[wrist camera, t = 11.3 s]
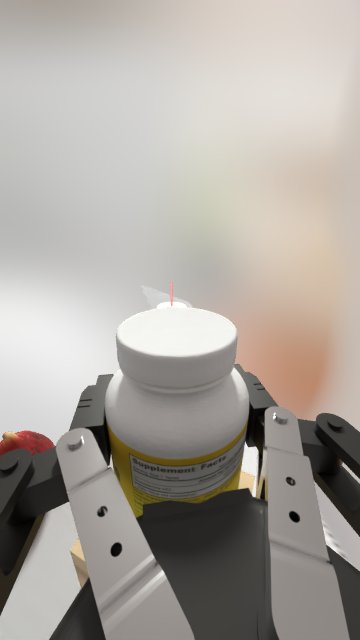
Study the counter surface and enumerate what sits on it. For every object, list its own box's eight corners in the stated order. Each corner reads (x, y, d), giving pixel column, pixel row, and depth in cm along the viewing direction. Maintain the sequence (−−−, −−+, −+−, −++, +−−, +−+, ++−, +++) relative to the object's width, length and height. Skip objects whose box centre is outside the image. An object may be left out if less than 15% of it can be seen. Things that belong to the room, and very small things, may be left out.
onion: (59, 455, 28) (44, 401, 25) (67, 500, 24) (50, 441, 21) (-2, 481, 25) (-27, 424, 22) (-6, 538, 21) (-38, 476, 18)
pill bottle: (138, 451, 17) (125, 299, 13) (228, 460, 16) (246, 303, 12) (101, 569, 11) (56, 362, 7) (239, 591, 10) (280, 377, 6)
